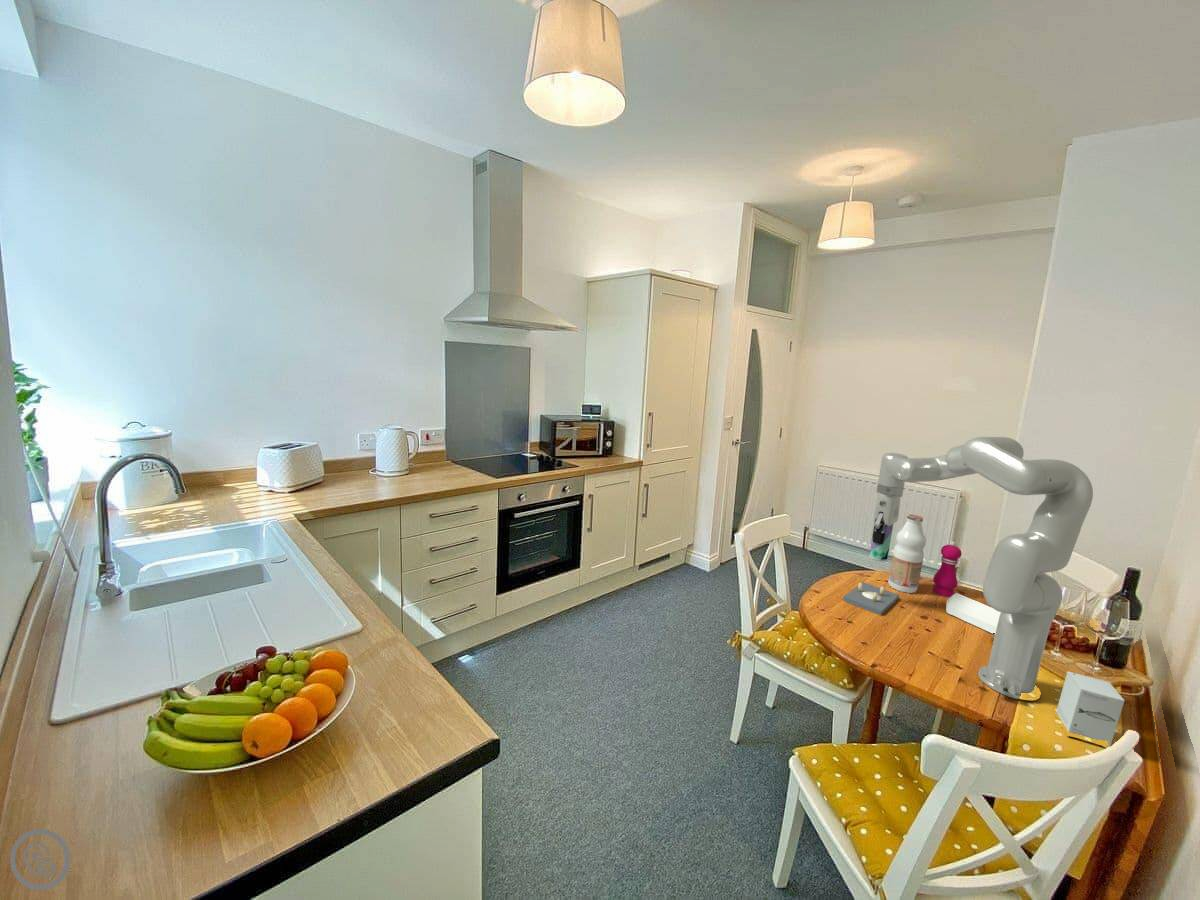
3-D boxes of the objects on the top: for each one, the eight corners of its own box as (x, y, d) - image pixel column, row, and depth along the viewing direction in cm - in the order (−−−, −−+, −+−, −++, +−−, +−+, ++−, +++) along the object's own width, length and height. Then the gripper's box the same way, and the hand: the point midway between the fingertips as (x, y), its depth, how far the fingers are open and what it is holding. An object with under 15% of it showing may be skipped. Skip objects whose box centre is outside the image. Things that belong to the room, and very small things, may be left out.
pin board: (880, 615, 156) (882, 602, 155) (842, 600, 164) (844, 588, 163) (898, 598, 168) (900, 586, 167) (862, 585, 176) (864, 574, 175)
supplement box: (1066, 737, 107) (1079, 688, 104) (1053, 716, 113) (1066, 669, 111) (1110, 751, 103) (1126, 700, 101) (1095, 728, 110) (1109, 680, 107)
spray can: (865, 556, 164) (874, 501, 160) (875, 554, 166) (884, 499, 162) (880, 562, 159) (889, 505, 155) (890, 560, 162) (900, 504, 158)
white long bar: (938, 601, 159) (1025, 640, 138) (950, 588, 161) (1038, 625, 140) (940, 616, 162) (1027, 657, 141) (953, 603, 164) (1040, 641, 143)
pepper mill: (959, 598, 169) (970, 546, 165) (936, 596, 171) (947, 544, 167) (948, 589, 176) (959, 539, 172) (927, 586, 178) (937, 536, 174)
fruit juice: (887, 588, 175) (900, 516, 169) (887, 579, 183) (899, 510, 177) (917, 596, 170) (931, 522, 164) (916, 586, 178) (930, 515, 172)
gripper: (893, 497, 150) (884, 550, 153) (910, 488, 161) (901, 538, 165) (868, 491, 155) (859, 543, 159) (886, 483, 166) (877, 532, 170)
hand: (881, 540), depth 162 cm, fingers closed on spray can, 5 cm apart
